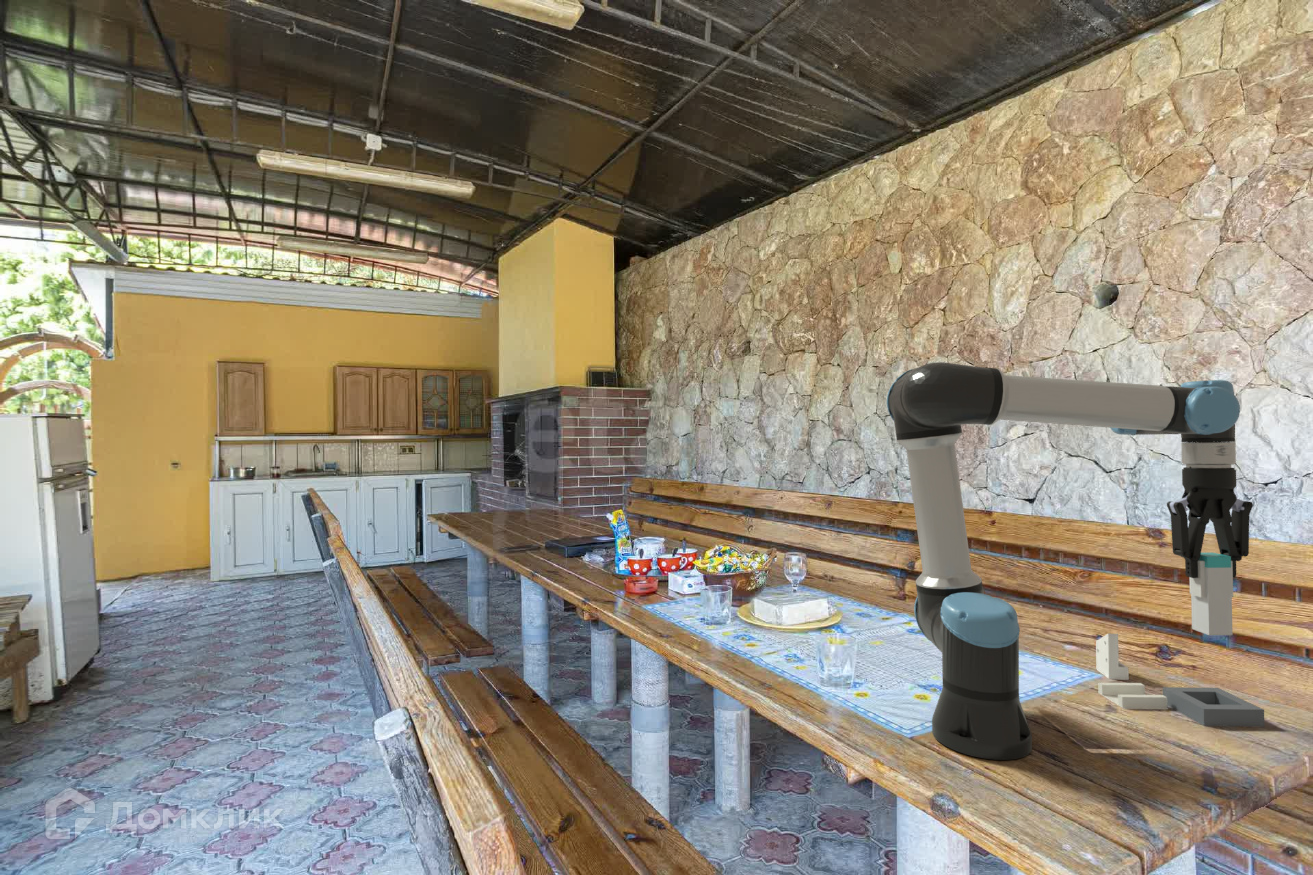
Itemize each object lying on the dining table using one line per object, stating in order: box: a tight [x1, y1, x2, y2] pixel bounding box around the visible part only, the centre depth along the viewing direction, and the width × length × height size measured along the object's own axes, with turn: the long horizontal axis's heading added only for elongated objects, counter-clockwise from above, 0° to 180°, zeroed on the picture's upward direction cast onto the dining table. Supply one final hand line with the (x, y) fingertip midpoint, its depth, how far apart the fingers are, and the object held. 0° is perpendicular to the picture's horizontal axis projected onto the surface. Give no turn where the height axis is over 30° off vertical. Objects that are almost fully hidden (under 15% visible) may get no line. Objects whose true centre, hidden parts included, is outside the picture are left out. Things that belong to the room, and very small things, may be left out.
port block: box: [1162, 686, 1265, 728], centre depth 119 cm, size 10×10×4 cm
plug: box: [1190, 551, 1234, 636], centre depth 119 cm, size 4×4×14 cm
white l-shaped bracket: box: [1095, 632, 1130, 681], centre depth 139 cm, size 4×10×9 cm
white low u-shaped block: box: [1096, 682, 1169, 710], centre depth 126 cm, size 8×8×3 cm
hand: (1211, 595), depth 119 cm, fingers closed on plug, 4 cm apart
